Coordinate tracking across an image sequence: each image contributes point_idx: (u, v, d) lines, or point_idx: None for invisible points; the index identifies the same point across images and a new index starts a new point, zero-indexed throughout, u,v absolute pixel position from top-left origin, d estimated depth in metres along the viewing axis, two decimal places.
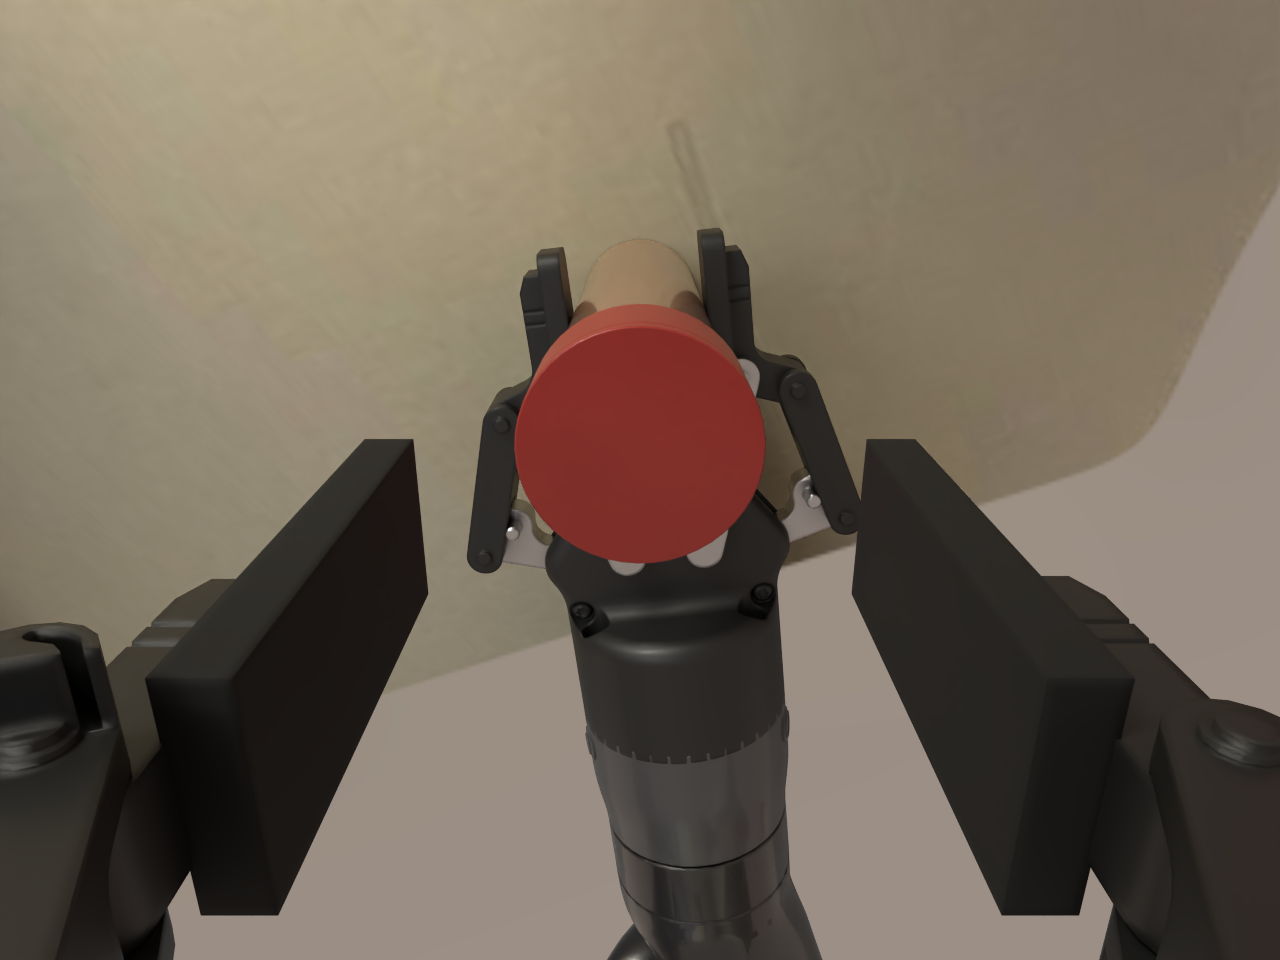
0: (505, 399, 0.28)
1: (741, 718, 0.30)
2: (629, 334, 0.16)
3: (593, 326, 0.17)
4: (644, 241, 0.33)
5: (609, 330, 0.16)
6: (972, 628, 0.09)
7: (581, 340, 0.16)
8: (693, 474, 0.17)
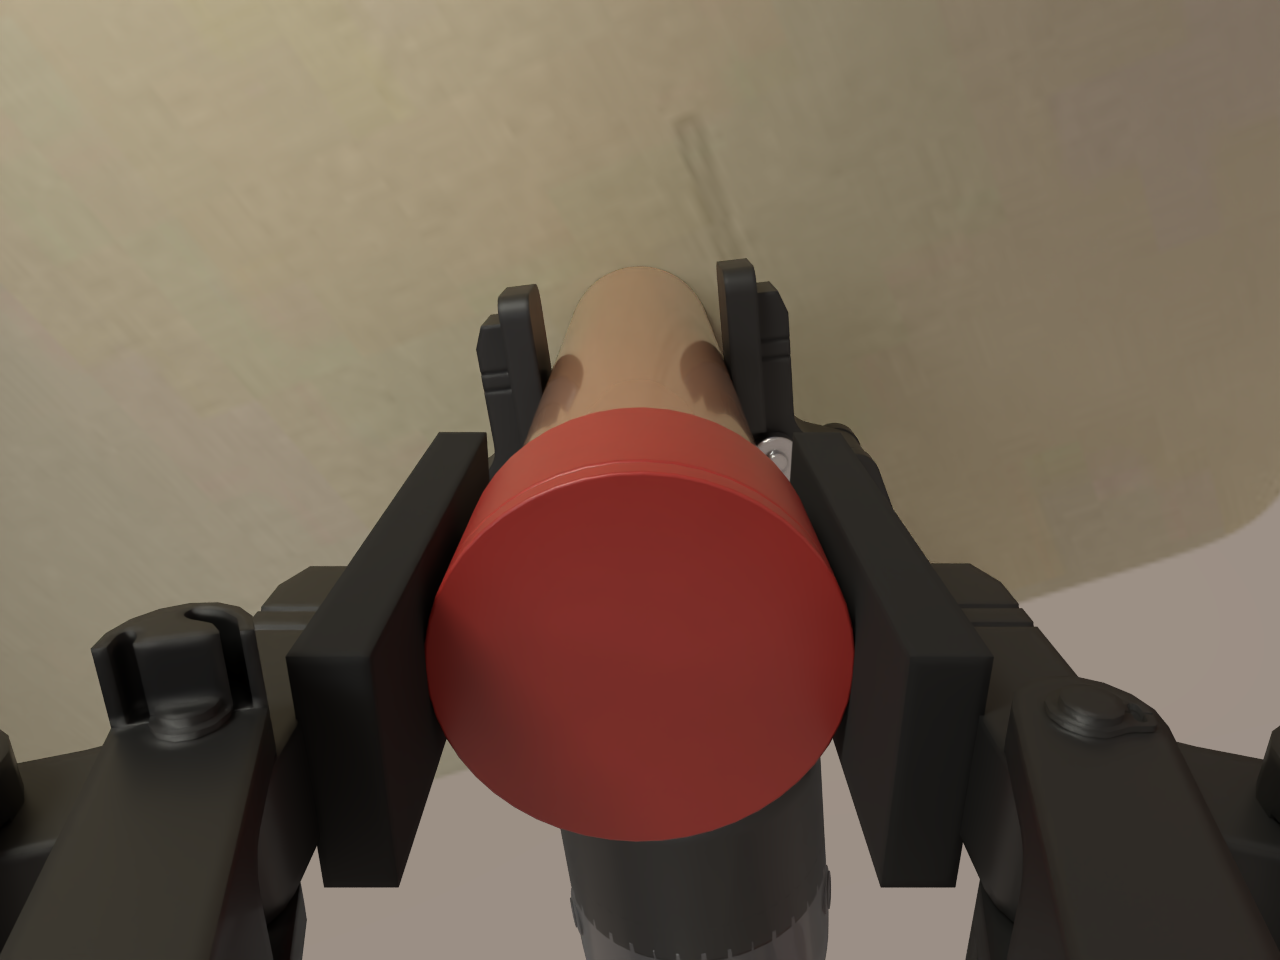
0: None
1: (773, 902, 0.22)
2: (620, 486, 0.09)
3: (559, 460, 0.10)
4: (645, 269, 0.26)
5: (585, 478, 0.09)
6: (862, 612, 0.10)
7: (535, 496, 0.09)
8: (730, 709, 0.10)
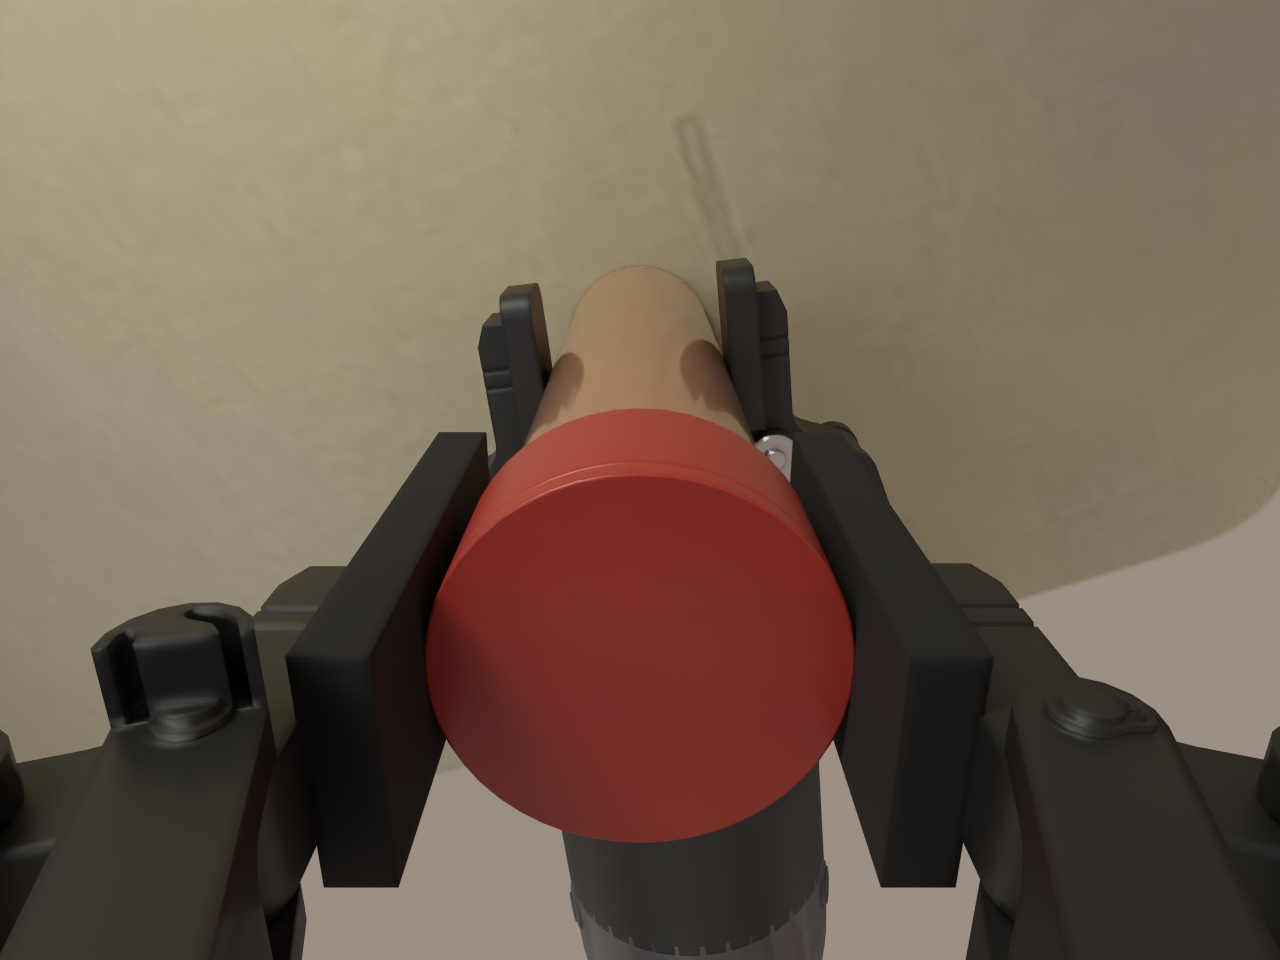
0: None
1: (771, 896, 0.23)
2: (441, 626, 0.10)
3: None
4: (645, 269, 0.26)
5: (426, 649, 0.10)
6: (862, 612, 0.10)
7: None
8: (714, 612, 0.10)
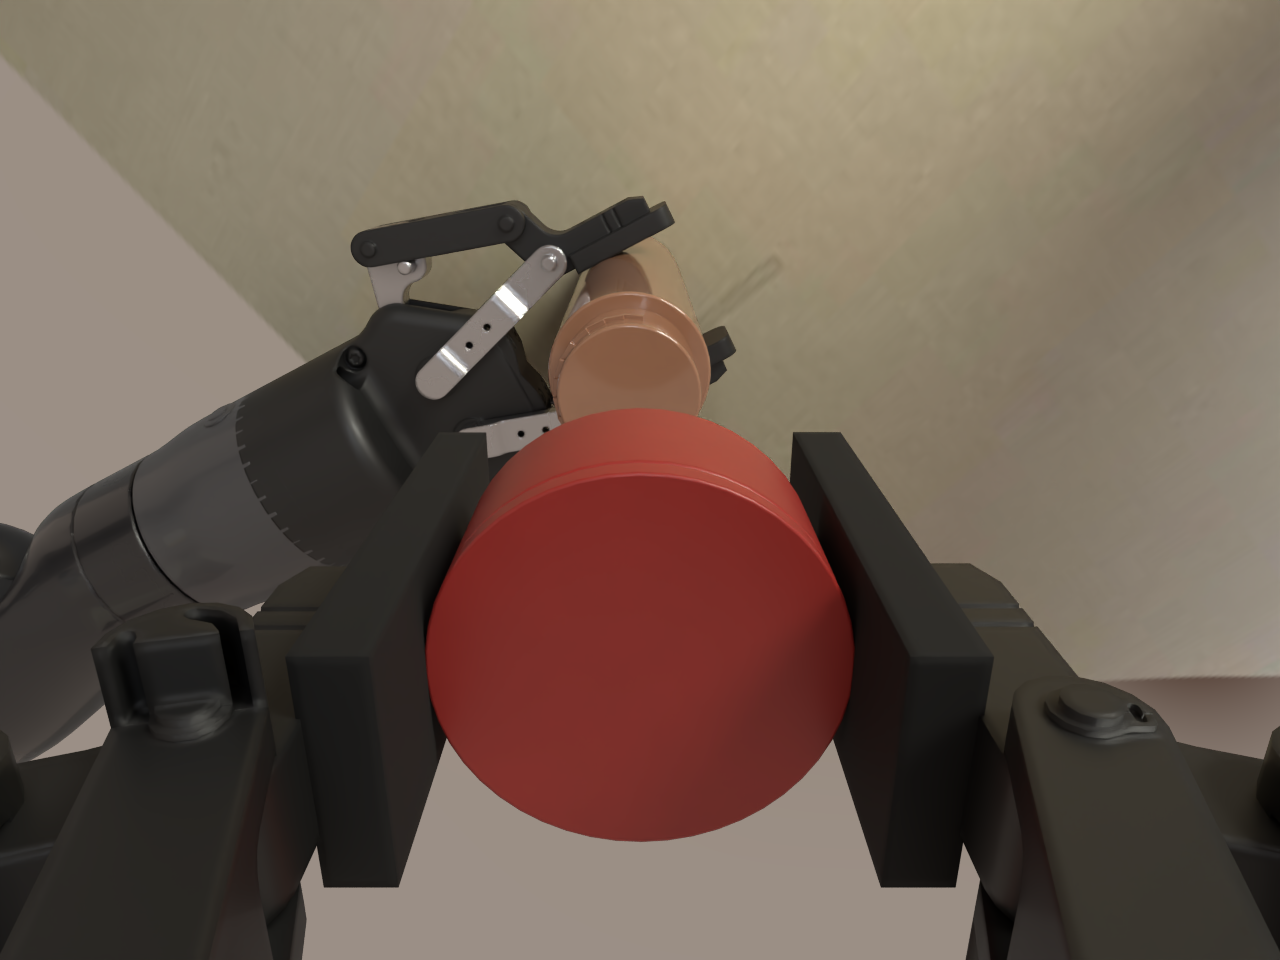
0: (527, 217, 0.30)
1: (334, 540, 0.31)
2: (441, 625, 0.10)
3: None
4: None
5: (427, 649, 0.10)
6: (862, 612, 0.10)
7: (429, 692, 0.10)
8: (714, 611, 0.10)
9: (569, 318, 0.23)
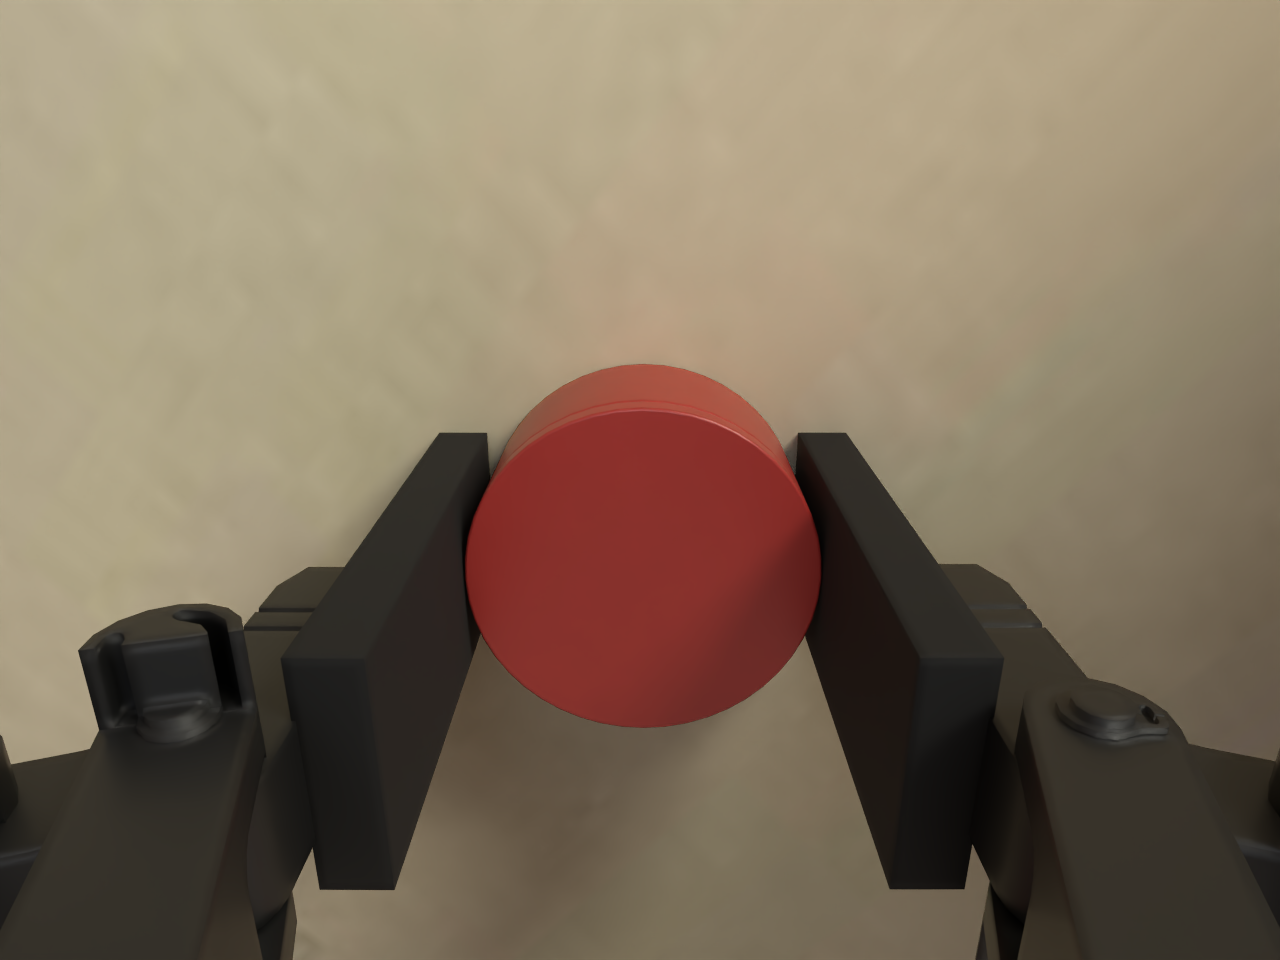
0: None
1: None
2: (479, 537, 0.12)
3: None
4: None
5: (466, 557, 0.12)
6: (870, 613, 0.10)
7: None
8: (704, 526, 0.12)
9: None
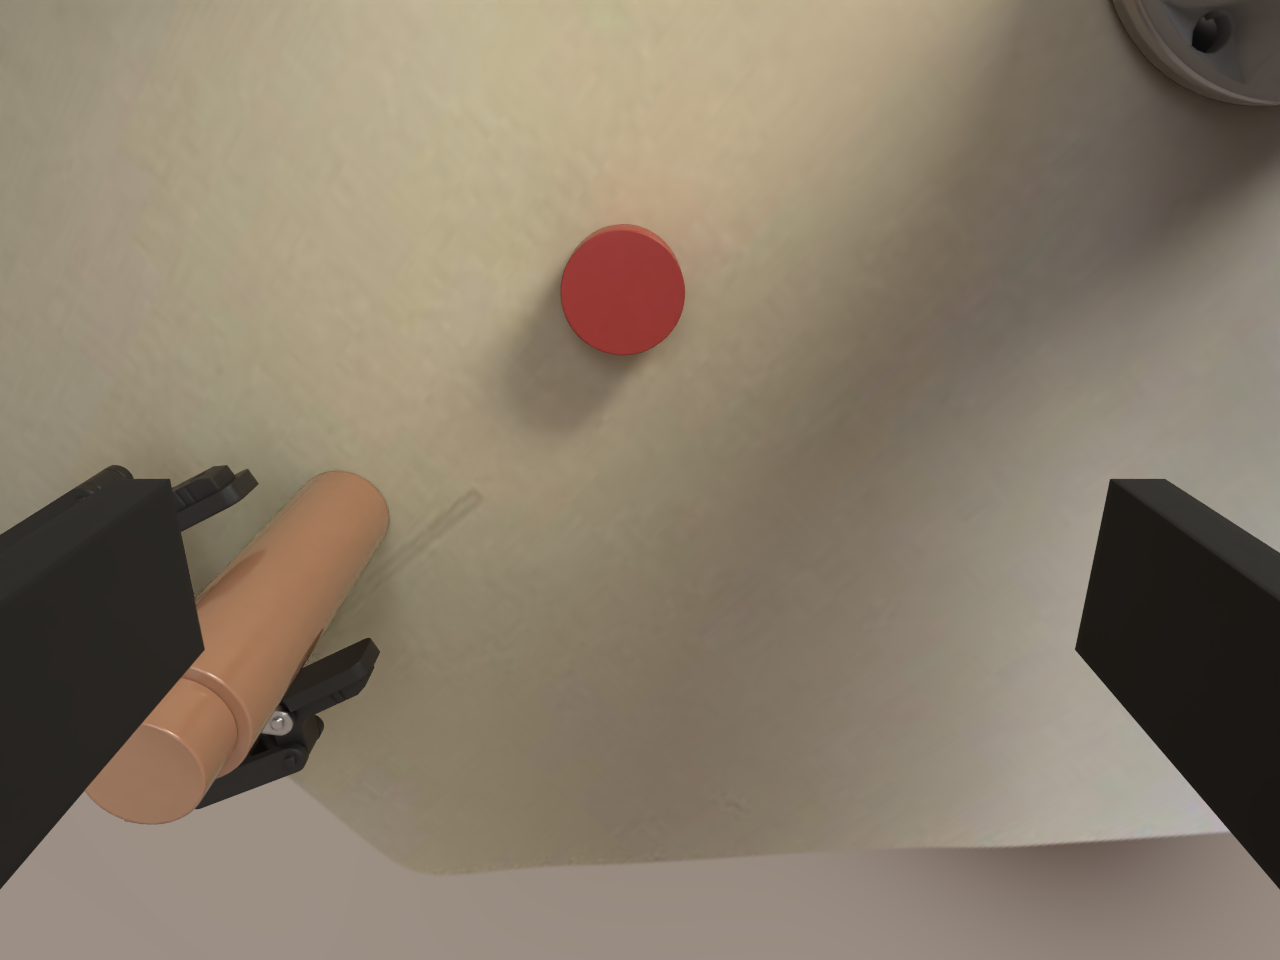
0: None
1: None
2: (566, 277, 0.35)
3: None
4: (381, 509, 0.40)
5: (561, 286, 0.35)
6: None
7: (561, 300, 0.35)
8: (643, 273, 0.35)
9: None
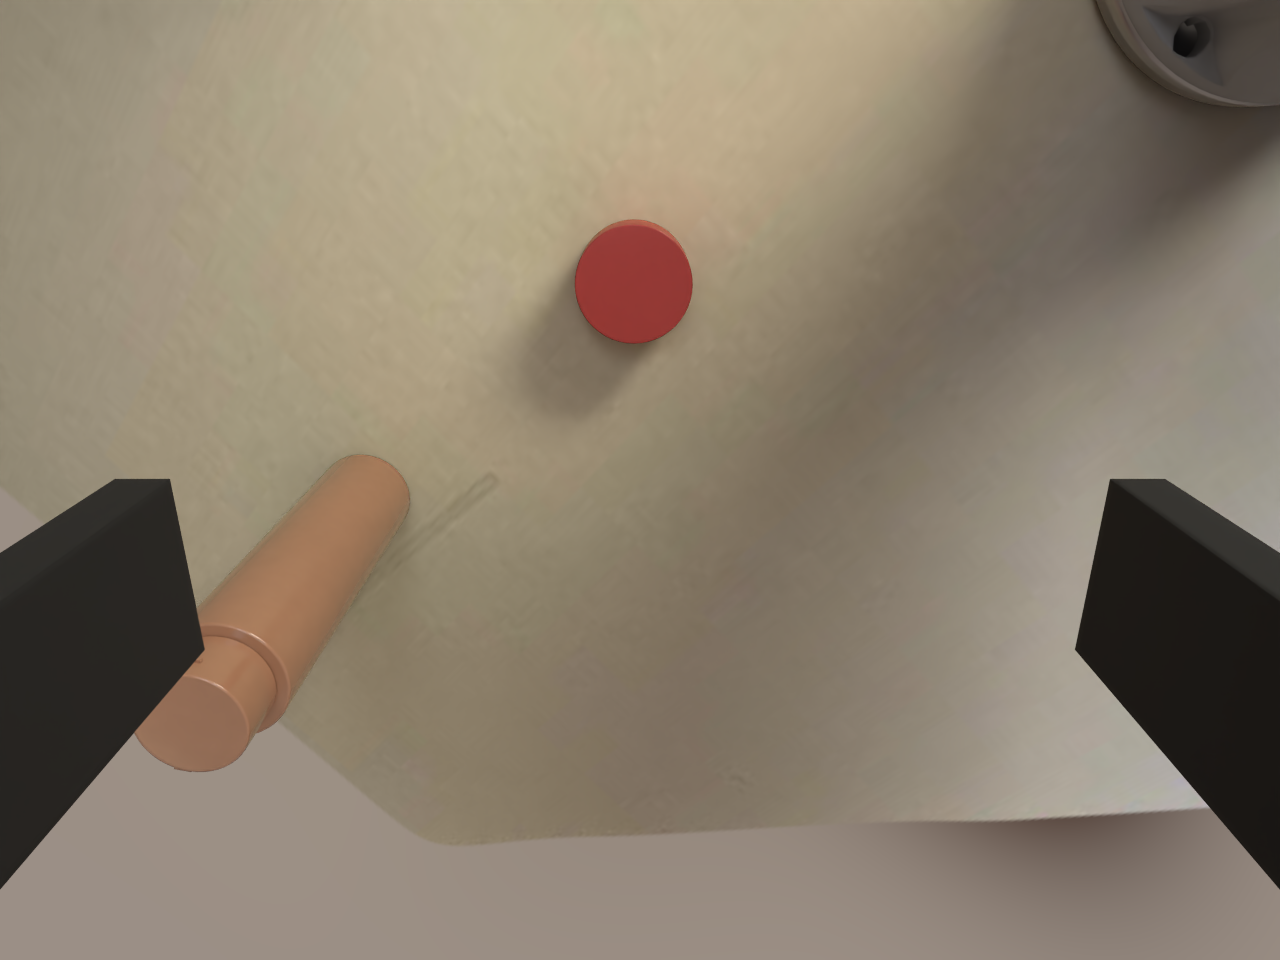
0: None
1: None
2: (580, 270, 0.37)
3: None
4: (403, 490, 0.42)
5: (575, 277, 0.37)
6: None
7: (575, 291, 0.37)
8: (653, 265, 0.36)
9: None
